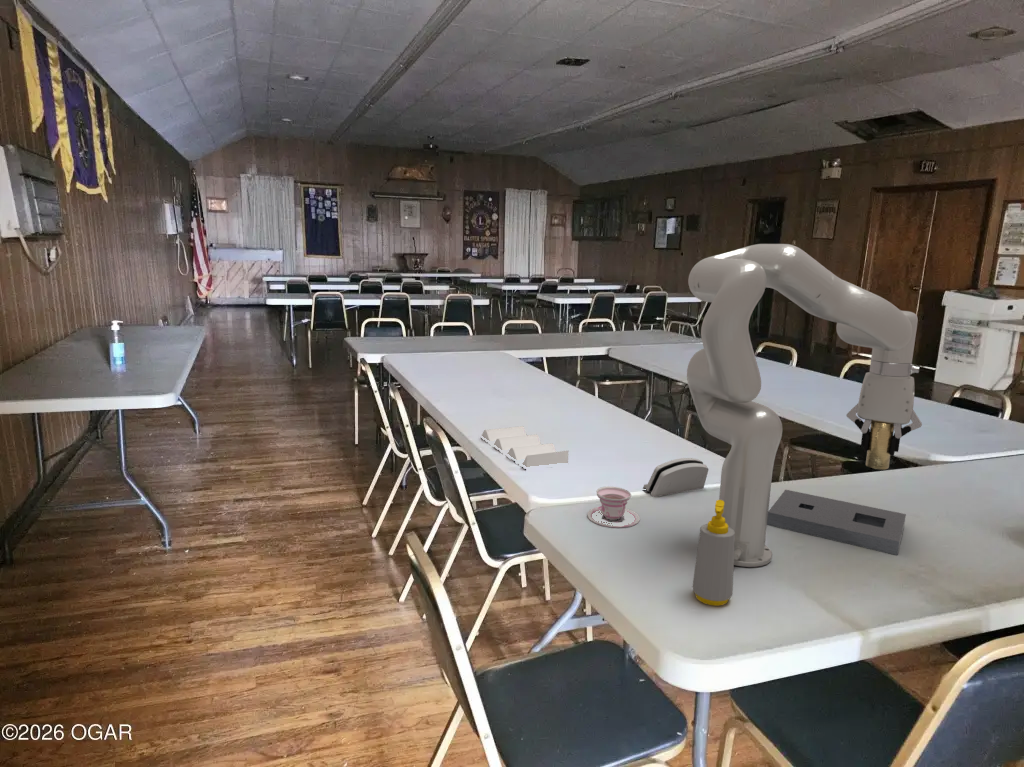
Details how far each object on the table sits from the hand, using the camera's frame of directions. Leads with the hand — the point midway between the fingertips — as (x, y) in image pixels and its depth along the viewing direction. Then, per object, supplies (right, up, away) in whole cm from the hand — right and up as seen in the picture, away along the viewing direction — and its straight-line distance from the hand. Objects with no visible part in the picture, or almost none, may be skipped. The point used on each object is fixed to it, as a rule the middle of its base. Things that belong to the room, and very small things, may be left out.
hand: (879, 451), depth 144 cm
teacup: (-56, -17, +9) cm, 59 cm away
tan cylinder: (0, -3, +1) cm, 3 cm away
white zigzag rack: (-77, -7, +58) cm, 97 cm away
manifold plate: (-6, -18, +7) cm, 20 cm away
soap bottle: (-44, -24, -26) cm, 56 cm away
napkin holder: (-37, -13, +27) cm, 48 cm away
